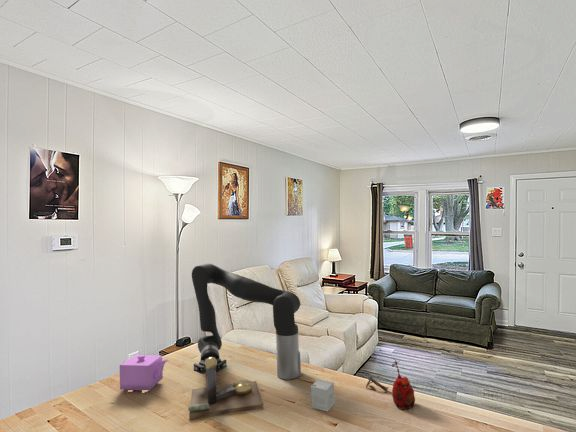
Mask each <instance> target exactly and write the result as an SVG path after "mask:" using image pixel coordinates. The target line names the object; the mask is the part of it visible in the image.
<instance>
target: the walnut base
mask: <svg viewBox="0 0 576 432" xmlns="http://www.w3.org/2000/svg"><path fill="white" fill-rule="evenodd" d="M251 383H252V391H251V392H250V393H249V394H247V395H242V396H239V395H235V394H234V395H232V396H229V397H226V398H224V399H221V400H219V401H217V402H216V403H215V404H211V405H210V404H208V398H207V386H206V387H199V388H193V389H191V395H190V396H191V398H190V403H189V406H188V412H189V413H188V415H189V417H188V419H189V420H196V419H201V418H209V417H215V416H222V415H229V414H235V413H241V412H242V413H243V412H247V411H248V412H249V411H256V410H261V409H264V402H263V400H262V395H261V393H260V390H259V386H258V383H257V380H253V381H251ZM232 384H233V383H230V384H221V385H216V393H217V392H220V391H223V390H226V389H228V388H231V387H232Z"/></svg>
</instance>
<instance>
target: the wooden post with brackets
mask: <svg viewBox="0 0 576 432" xmlns="http://www.w3.org/2000/svg"><path fill="white" fill-rule="evenodd" d="M366 378H367V380H368V381H367V383H366V385H365V388H368V387H369V388H370V389H372V391H373V390H374V391H376V388H375V386H377V387H379V388H380V389H382V390H383V391H384V393H385V394H386V393H387V392H388V390H389V386H384V385H383V384H382V383H380V382H379V381H377V380H375V379H373V377H372V376H367V377H366ZM372 383H373V384H374V385H375V386H374V385H370V384H372Z"/></svg>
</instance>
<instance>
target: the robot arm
mask: <svg viewBox="0 0 576 432" xmlns="http://www.w3.org/2000/svg"><path fill="white" fill-rule="evenodd" d="M191 280H192V285H193V289H194V294H195V298H196V301H197V305H198V311H199V313H198V314H199V325H200V330H201V331H202V332H205V333H207V332H208V333H211V335H206V336H202V337H201V336H200V338H199V339H198V340H197V349H198V351H199V352H200V361H199V362H198V363H196V362H195V363H193V371H194V372H196V373H199V374H200V375H201V374H202V375H204V374H205V375H206V377H207V368H206V366H205V361H206V360H207V358H209V357H214V358H215V359H216V360H217V365H216V373H219V372H221V371H223V369H225V368H227V363H228V362H227V360H226V359H223V360H221V358H220V350H221V348H222V346H223V342H222V338H221V336H220V334H219V331H218V328H217V320H216V319H217V317H216V310H215V307H214V305H213V302H212V301H211V299H210V296H209V294H208V284H214V285H218V286H221V287H223V288H225V289H226V290H227V292H229V293H230V295H233V296H234V297H236V298H238V299H241V300H243V301H247V302H250V303H251V302H253V303H260V304H262V303H263V304H269V305H271V306H272V316H273V326H274V329H275V338H276V339H275V340H276V341H275V343H276V345H275V346H276V372H277V374H276V375H277V378H279V379H282V380H295V379H297V378H299V377H302V370H301V369H302V368H301V367H302V366H301V365H302V364H301V363H302V361H301V352H300V349H299V348H300V347H299V346H300V345H299V326H298V324H297V323H295V313H296V312H298V310H299V309H300V308H301V301H300V299H299V297H298V296H297V294H295V293H294V292H291V291H287V290H284V289H283V290H282V289H278V288H274V287H272V286H269V285H267V284H264V283H262V282H259V281H256V280H254V279H252V278H248V277H246V276H243V275H239V274H236V273H234V272H229V271H228V270H225V269H224V268H221V267H219V266H217V265H214V264H212V263H203V264H197V265H196V266H194V267H193V268H192V271H191Z"/></svg>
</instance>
